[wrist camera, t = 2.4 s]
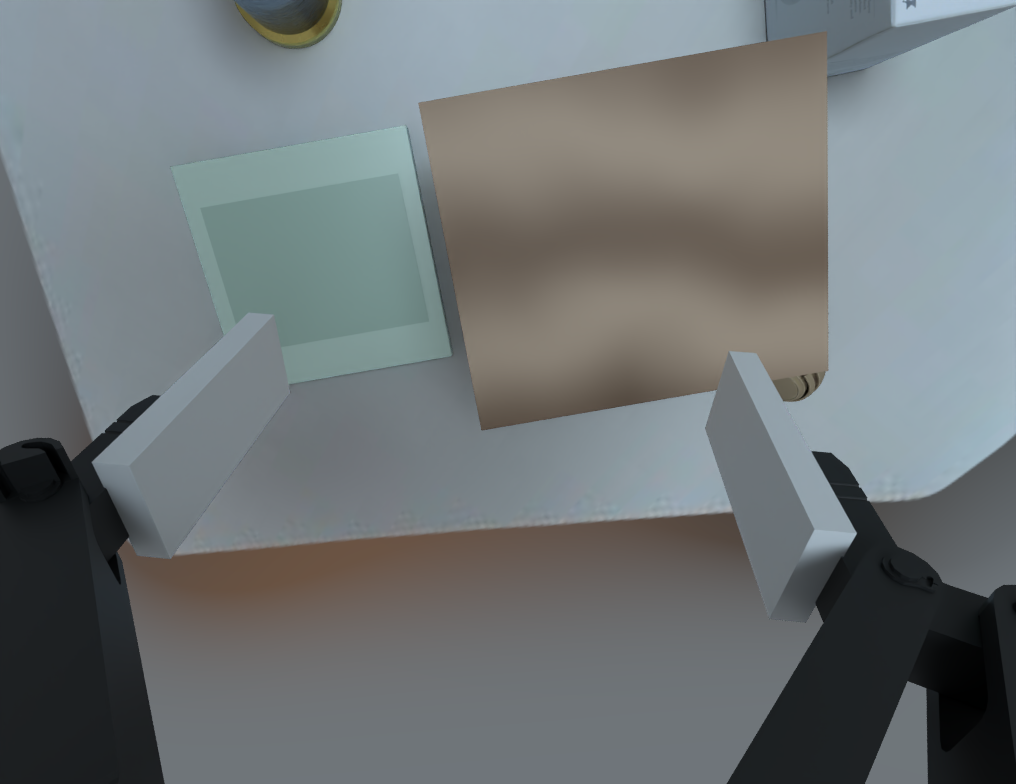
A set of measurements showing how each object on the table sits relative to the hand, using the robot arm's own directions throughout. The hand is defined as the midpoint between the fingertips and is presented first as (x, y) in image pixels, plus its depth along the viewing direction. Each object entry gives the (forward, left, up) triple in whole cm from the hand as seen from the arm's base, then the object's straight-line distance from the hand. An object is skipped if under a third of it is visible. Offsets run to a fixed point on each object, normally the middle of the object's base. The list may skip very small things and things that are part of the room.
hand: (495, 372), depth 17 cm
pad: (-3, -10, -21) cm, 24 cm away
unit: (-2, +6, -21) cm, 22 cm away
